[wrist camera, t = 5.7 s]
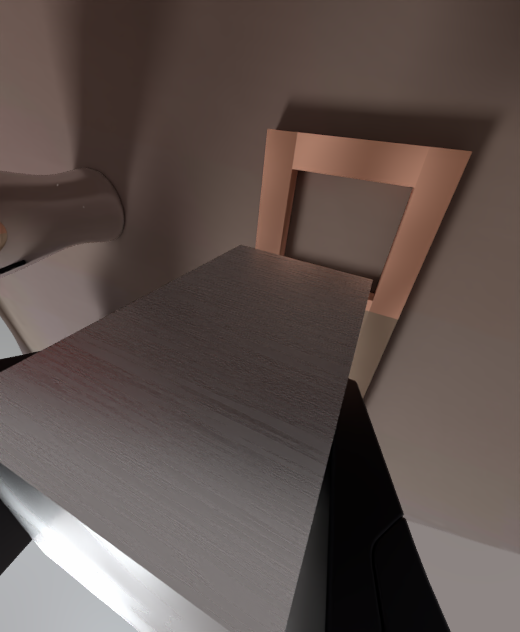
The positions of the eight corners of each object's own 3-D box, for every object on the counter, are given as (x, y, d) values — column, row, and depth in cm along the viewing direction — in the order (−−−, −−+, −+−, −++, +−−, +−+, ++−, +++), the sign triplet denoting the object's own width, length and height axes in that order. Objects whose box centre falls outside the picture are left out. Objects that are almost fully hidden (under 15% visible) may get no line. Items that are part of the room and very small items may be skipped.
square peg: (232, 345, 12) (43, 552, 6) (240, 244, 10) (-72, 410, 3) (334, 384, 11) (234, 711, 4) (372, 280, 8) (276, 664, 2)
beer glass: (119, 260, 27) (-109, 341, 15) (65, 214, 27) (-204, 257, 15) (137, 196, 22) (-163, 238, 11) (73, 142, 23) (-294, 122, 11)
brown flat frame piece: (242, 417, 30) (237, 426, 29) (275, 130, 16) (267, 128, 15) (333, 459, 27) (331, 470, 26) (467, 152, 13) (472, 151, 12)
